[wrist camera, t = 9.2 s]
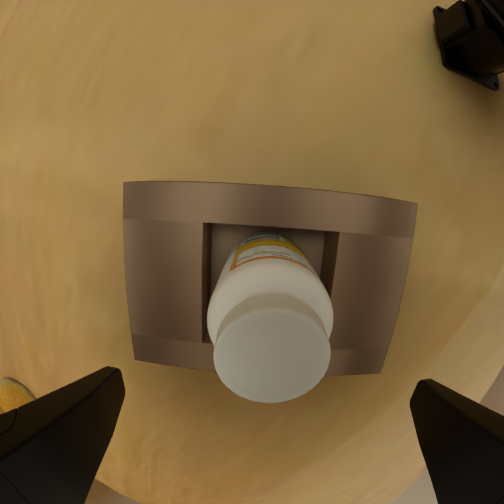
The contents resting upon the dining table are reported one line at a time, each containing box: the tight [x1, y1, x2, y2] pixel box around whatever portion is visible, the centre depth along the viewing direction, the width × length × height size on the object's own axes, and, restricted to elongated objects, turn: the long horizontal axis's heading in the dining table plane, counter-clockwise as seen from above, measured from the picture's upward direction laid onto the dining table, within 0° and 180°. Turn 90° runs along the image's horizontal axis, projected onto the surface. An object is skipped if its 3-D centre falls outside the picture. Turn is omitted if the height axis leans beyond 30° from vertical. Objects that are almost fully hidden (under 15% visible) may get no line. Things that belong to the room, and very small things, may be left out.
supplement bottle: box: [207, 233, 333, 403], centre depth 14 cm, size 5×5×10 cm
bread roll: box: [0, 378, 35, 412], centre depth 23 cm, size 8×9×4 cm
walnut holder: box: [123, 181, 418, 376], centre depth 18 cm, size 16×11×4 cm
